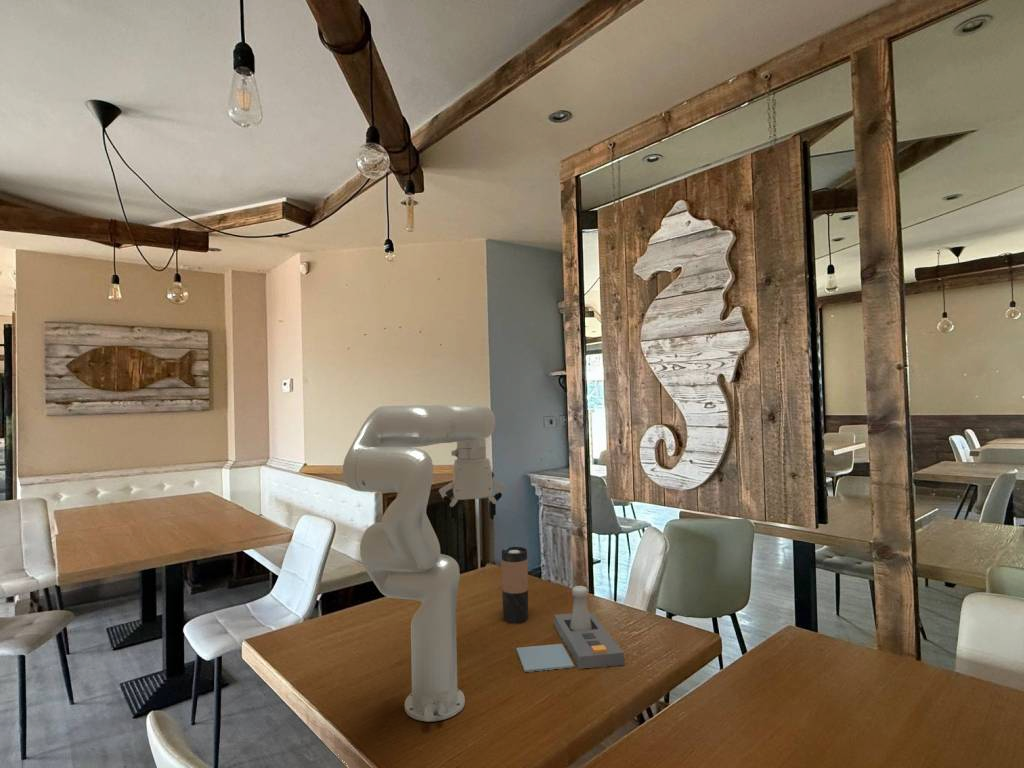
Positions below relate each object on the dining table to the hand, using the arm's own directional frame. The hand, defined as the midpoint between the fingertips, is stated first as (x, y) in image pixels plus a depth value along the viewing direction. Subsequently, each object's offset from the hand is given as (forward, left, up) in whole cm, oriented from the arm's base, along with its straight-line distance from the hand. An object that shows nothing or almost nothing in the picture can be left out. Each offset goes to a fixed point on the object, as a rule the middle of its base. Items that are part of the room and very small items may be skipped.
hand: (473, 519), depth 145 cm
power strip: (-3, -29, -33) cm, 44 cm away
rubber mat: (-9, -16, -33) cm, 38 cm away
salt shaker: (+2, -29, -33) cm, 44 cm away
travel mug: (+17, -13, -33) cm, 40 cm away
